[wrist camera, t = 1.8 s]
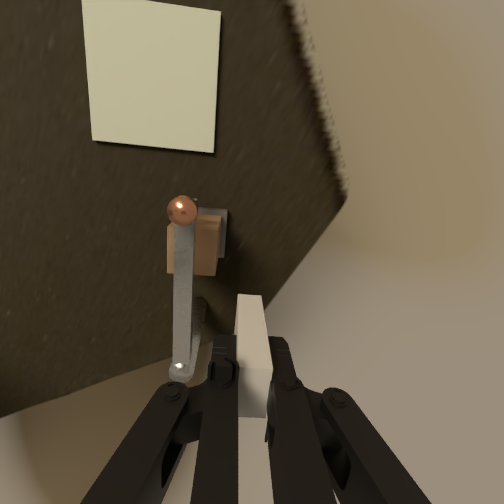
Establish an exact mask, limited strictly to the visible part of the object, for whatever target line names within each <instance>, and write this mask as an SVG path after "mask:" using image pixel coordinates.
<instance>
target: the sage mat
mask: <svg viewBox="0 0 504 504" xmlns="http://www.w3.org/2000/svg"><path fill="white" fill-rule="evenodd" d="M82 10H83V23H84V36H85V49H86V62H87V75H88V88H89V101H90V115H91V128H92V140H96V141H106V142H115V143H124V144H134V145H143V146H153V147H162V148H172V149H181V150H190V151H200V152H209V153H214V136H215V117H216V98H217V79H218V60H219V41H220V22H221V12H219V11H213V10H206V9H199V8H193V7H186V6H179V5H173V4H166V3H159V2H153V1H146V0H82Z"/></svg>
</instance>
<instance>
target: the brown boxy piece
mask: <svg viewBox="0 0 504 504" xmlns="http://www.w3.org/2000/svg"><path fill="white" fill-rule="evenodd" d="M227 211H228V209H217V208H206V207H198V215H197V230H196V257H195V275H204V276H215V273H216V268H217V262H218V258H224V253H225V239H226V225H227ZM167 273H174V223H173V222H172V223H171V224H169V225H168V226H167Z"/></svg>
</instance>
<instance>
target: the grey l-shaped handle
mask: <svg viewBox="0 0 504 504" xmlns="http://www.w3.org/2000/svg"><path fill="white" fill-rule="evenodd" d="M197 203H198V199H195V198H191V197H189V196H186V195H182V196H178V197H176V198H175V199H173V200H172V201H171V202H170V203H169V205H168V207H167V214H168V217H169V219H170V220H171V221H172V222H173V223H174V296H173V359H172V362H171V366H170V369H169V377H170V378H171V379H172V380H173V381H176V382H181V383H185V382H188V381H189V380H190V379H191V378H192V377H193V372H194V368H195V363H196V358H197V353H198V348H199V343H200V338H201V333H202V328H203V323H204V318H205V313H206V308H207V301H206V300H205V299H204V298H203V297H195V298H194V284H195V257H196V230H197V215H198V205H197Z"/></svg>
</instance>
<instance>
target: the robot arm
mask: <svg viewBox="0 0 504 504" xmlns="http://www.w3.org/2000/svg"><path fill="white" fill-rule="evenodd" d="M266 412H267V416H268V421H267V428H266V434H265V442H267V439H268V449H269V459H270V469H271V479H272V489H273V499H274V504H337V502H336V499H335V495H334V492H335V494H336V496H337V498H338V500H339V502H340V504H431V502H430V501H429V500H428V498H427V497H426V496H425V494H424V493H423V492H422V490H421V489H420V488H419V487H418V485H417V484H416V482H415V481H414V480H413V478H412V477H411V476H410V474H409V473H408V472H407V470H406V469H405V468H404V466H403V465H402V464H401V462H400V461H399V460H398V458H397V457H396V456H395V454H394V453H393V452H392V450H391V449H390V448H389V446H388V445H387V444H386V442H385V441H384V440H383V438H382V437H381V436H380V434H379V433H378V432H377V430H376V429H375V428H374V426H373V425H372V424H371V422H370V421H369V420H368V419H367V417H366V416H365V415H364V413H363V412H362V411H361V409H360V408H359V407H358V405H357V404H356V403H355V401H354V400H353V399H352V397H351V396H350V395H349V394H348V393H346V392H345V391H343V390H341V389H338V388H327V389H325V390H324V391H323V393H322V394H321V393H318V392H314V391H311V390H309V389H307V388H306V387H304V386H303V384H302V382H301V380H299V379H298V378H297V376H296V372H295V369H294V365H293V361H292V358H291V354H290V351H289V346H288V343H287V342H286V341H285V340H284V338H283V337H274V336H268V335H267V329H266V324H265V317H264V311H263V304H262V298H261V296H259V295H245V294H238V299H237V310H236V321H235V335H228V334H218V335H217V336H216V338H215V339H214V342H213V349H212V357H211V361H210V363H209V365H208V377H207V379H206V380H205V381H204V382H203V383H202V384H200V385H197V386H194V387H190V388H188V387H187V386H186V385H185V384H183V383H181V382H176V381H173V382H168V383H166V384H163V385H162V386H160V387H159V389H157V391H156V392H155V394H154V395H153V397H152V398H151V400H150V401H149V403H148V404H147V405H146V407H145V408H144V410H143V411H142V413H141V414H140V416H139V417H138V419H137V420H136V422H135V423H134V425H133V426H132V428H131V429H130V431H129V432H128V434H127V435H126V436H125V438H124V440H123V441H122V442H121V444H120V445H119V447H118V448H117V450H116V451H115V453H114V454H113V456H112V457H111V459H110V460H109V462H108V463H107V465H106V466H105V468H104V469H103V470H102V472H101V474H100V475H99V477H98V478H97V479H96V481H95V482H94V484H93V485H92V487H91V488H90V490H89V491H88V493H87V494H86V496H85V497H84V499H83V500H82V502H81V503H80V504H161V503H162V501H163V498H164V496H165V493H166V491H167V489H168V487H169V484H170V482H171V480H172V478H173V475H174V473H175V470H176V468H177V466H178V464H179V462H180V459H181V457H182V455H183V452H184V450H185V448H186V444H187V443H190V442H194V441H197V440H199V444H198V451H197V458H196V465H195V473H194V480H193V487H192V494H191V501H190V504H238V417H256V418H265V417H266ZM333 490H334V492H333Z"/></svg>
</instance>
